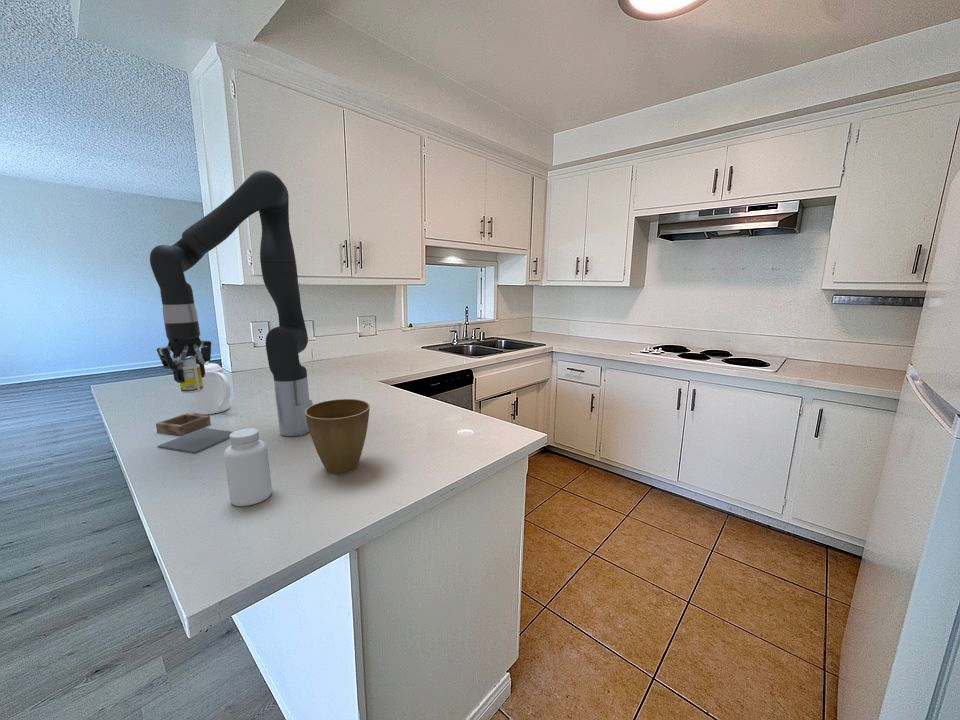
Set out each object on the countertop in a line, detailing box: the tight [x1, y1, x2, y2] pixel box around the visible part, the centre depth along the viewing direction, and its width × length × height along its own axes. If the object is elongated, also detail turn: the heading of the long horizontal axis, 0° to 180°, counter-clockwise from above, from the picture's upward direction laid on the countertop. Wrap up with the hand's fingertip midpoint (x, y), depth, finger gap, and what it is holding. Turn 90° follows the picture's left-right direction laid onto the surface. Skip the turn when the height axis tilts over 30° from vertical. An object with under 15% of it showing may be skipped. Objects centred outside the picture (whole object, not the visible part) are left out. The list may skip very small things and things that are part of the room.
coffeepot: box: [192, 361, 231, 416], centre depth 139 cm, size 11×25×19 cm, turn 62°
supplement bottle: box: [179, 356, 203, 394], centre depth 110 cm, size 5×5×10 cm
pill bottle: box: [223, 427, 273, 507], centre depth 83 cm, size 8×8×15 cm
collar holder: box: [155, 412, 212, 437], centre depth 123 cm, size 10×10×3 cm
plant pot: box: [305, 398, 371, 476], centre depth 96 cm, size 15×15×16 cm
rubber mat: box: [157, 427, 234, 455], centre depth 114 cm, size 14×14×1 cm
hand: (190, 379), depth 111 cm, fingers closed on supplement bottle, 5 cm apart
